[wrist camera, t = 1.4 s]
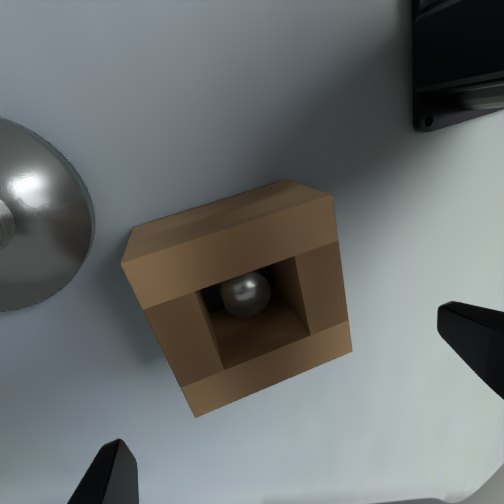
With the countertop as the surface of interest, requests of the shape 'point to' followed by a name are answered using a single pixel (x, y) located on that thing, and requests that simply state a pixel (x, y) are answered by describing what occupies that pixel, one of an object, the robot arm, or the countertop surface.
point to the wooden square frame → (235, 264)
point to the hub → (39, 218)
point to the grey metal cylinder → (245, 293)
